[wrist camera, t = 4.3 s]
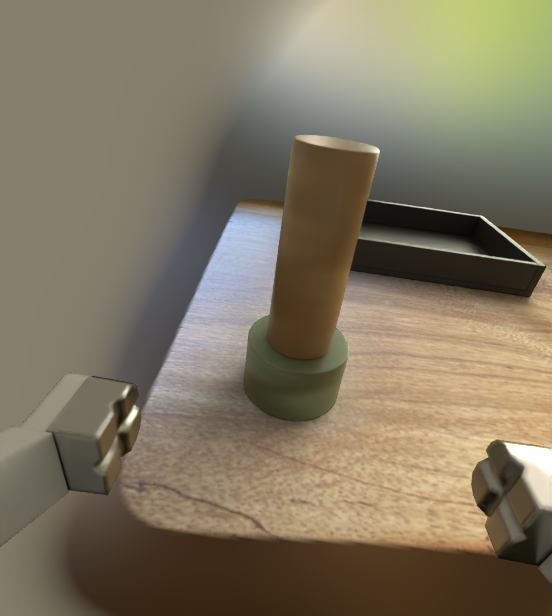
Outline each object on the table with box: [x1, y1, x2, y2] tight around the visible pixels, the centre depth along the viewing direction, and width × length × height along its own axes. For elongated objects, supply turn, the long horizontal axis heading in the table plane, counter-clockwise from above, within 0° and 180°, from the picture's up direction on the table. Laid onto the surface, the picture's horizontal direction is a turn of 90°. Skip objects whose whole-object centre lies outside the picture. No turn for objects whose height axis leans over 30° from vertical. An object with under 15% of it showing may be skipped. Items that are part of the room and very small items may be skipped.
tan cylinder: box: [244, 135, 379, 420], centre depth 17 cm, size 5×5×12 cm
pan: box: [350, 199, 546, 297], centre depth 39 cm, size 17×14×3 cm
